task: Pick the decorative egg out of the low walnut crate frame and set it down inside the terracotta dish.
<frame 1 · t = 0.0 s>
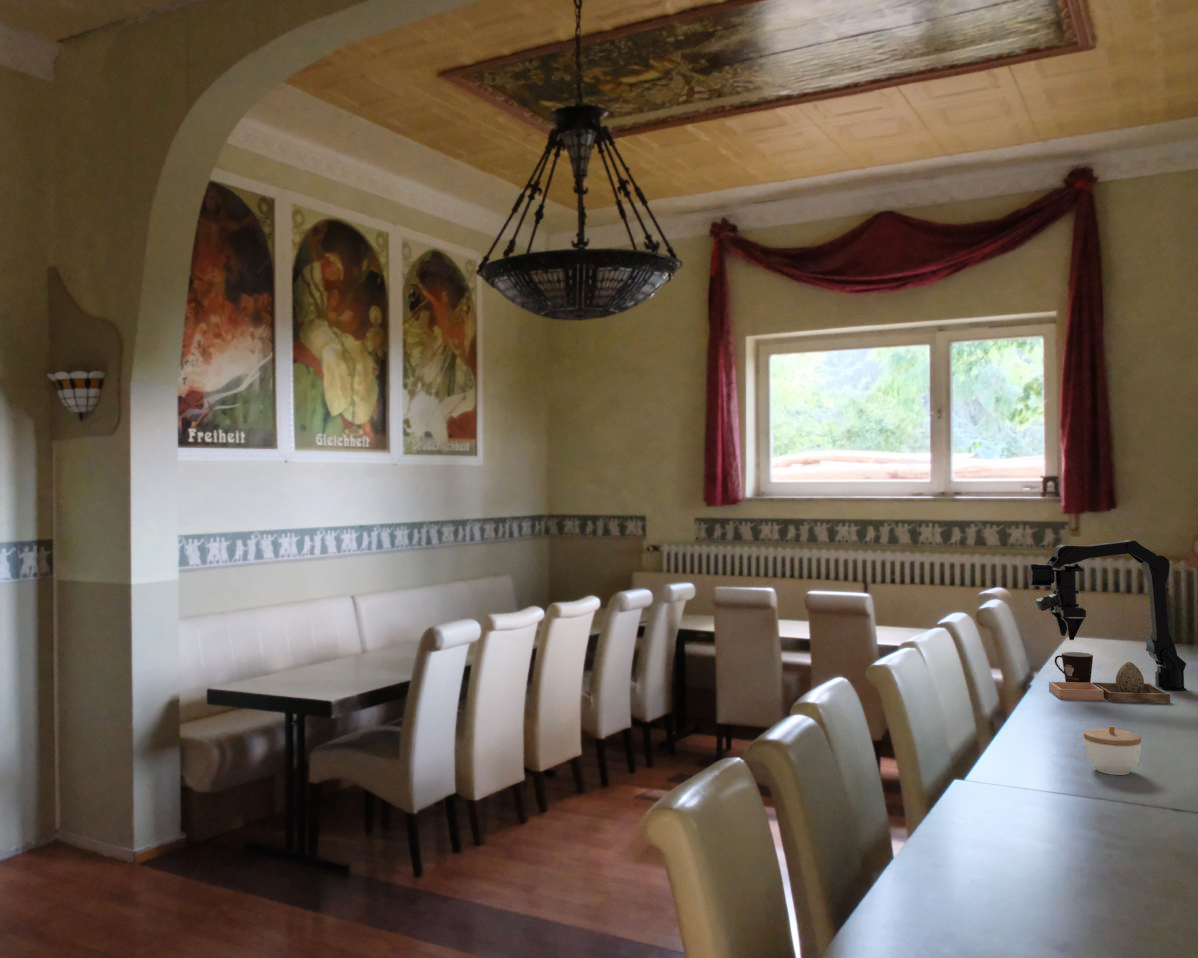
hand: (1067, 637, 295), 15 cm above the table, tool pointing down, fingers open, 9 cm apart
terracotta dish: (1075, 695, 281), on the table
lidded jar: (1112, 771, 205), on the table
walnut crate: (1130, 696, 278), on the table
coffee mug: (1075, 687, 294), on the table
decorative egg: (1130, 697, 278), resting in walnut crate
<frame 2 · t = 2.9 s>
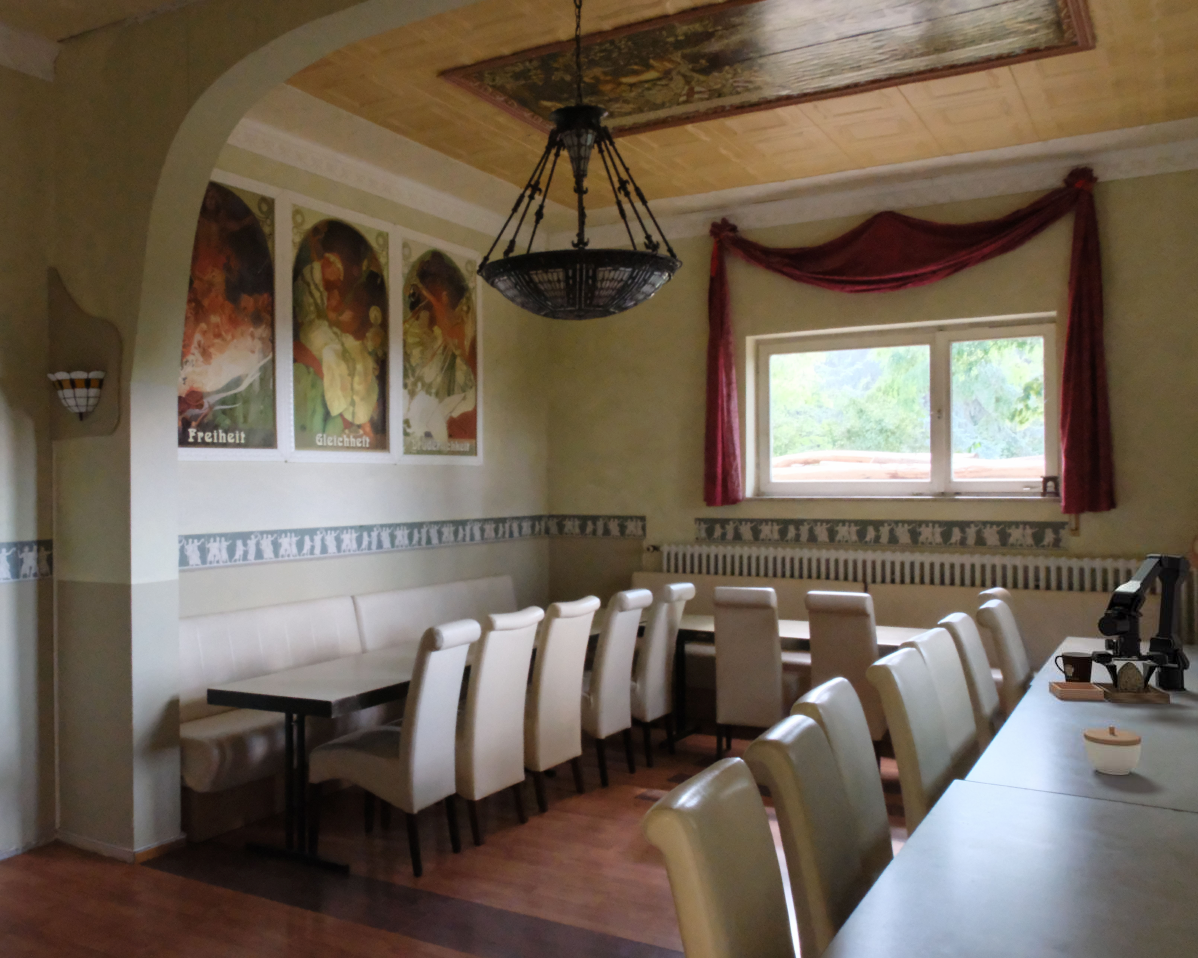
hand: (1130, 687, 278), 3 cm above the table, tool pointing down, fingers closed on decorative egg, 7 cm apart
decorative egg: (1130, 697, 278), resting in walnut crate, touching gripper
everything else where it was.
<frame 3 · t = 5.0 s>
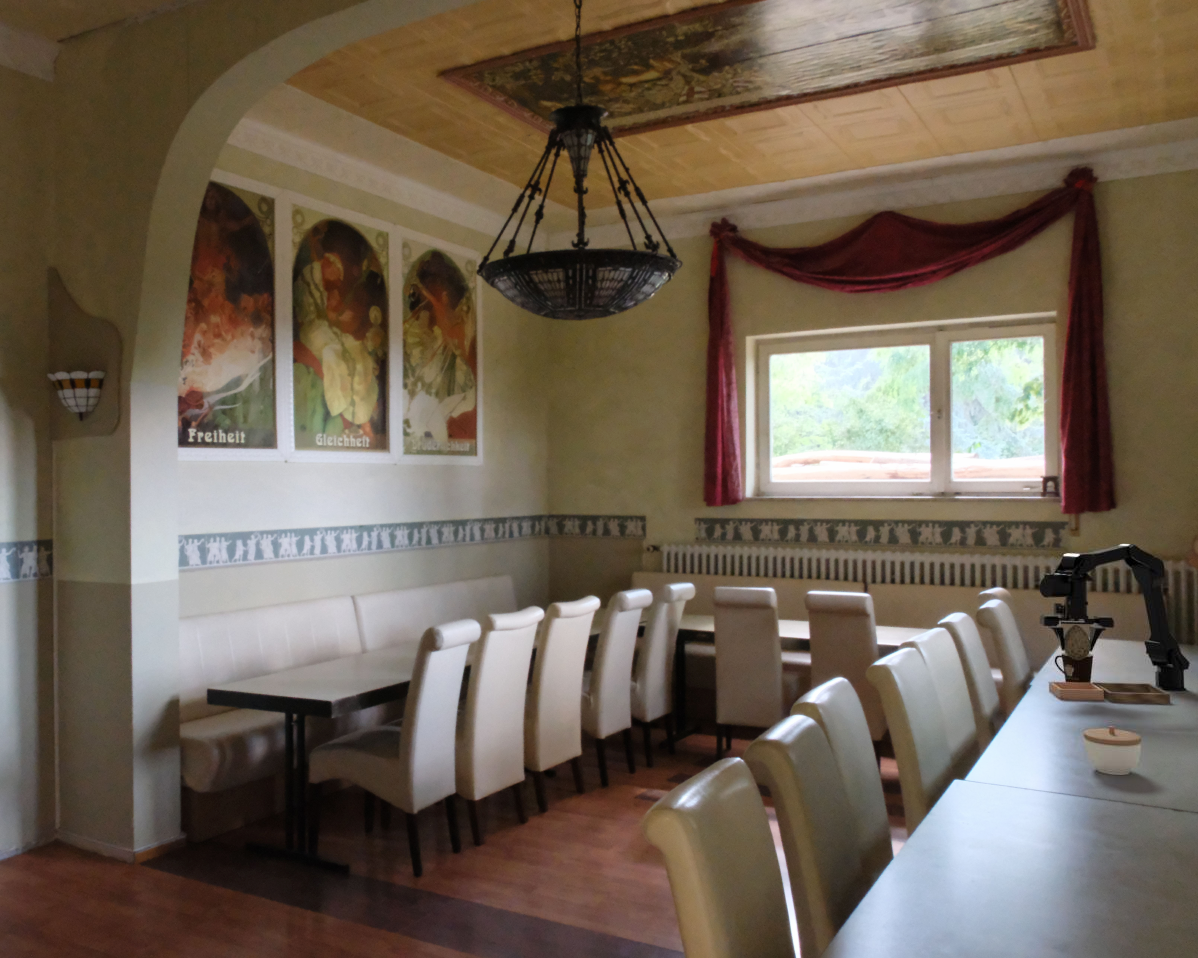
hand: (1076, 650, 281), 13 cm above the table, tool pointing down, fingers closed on decorative egg, 7 cm apart
decorative egg: (1077, 660, 281), point 10 cm above the table, touching gripper
everything else where it was.
when the fingers open (4 cm above the table, at t = 7.5 s): decorative egg drops 1 cm, resting on terracotta dish.
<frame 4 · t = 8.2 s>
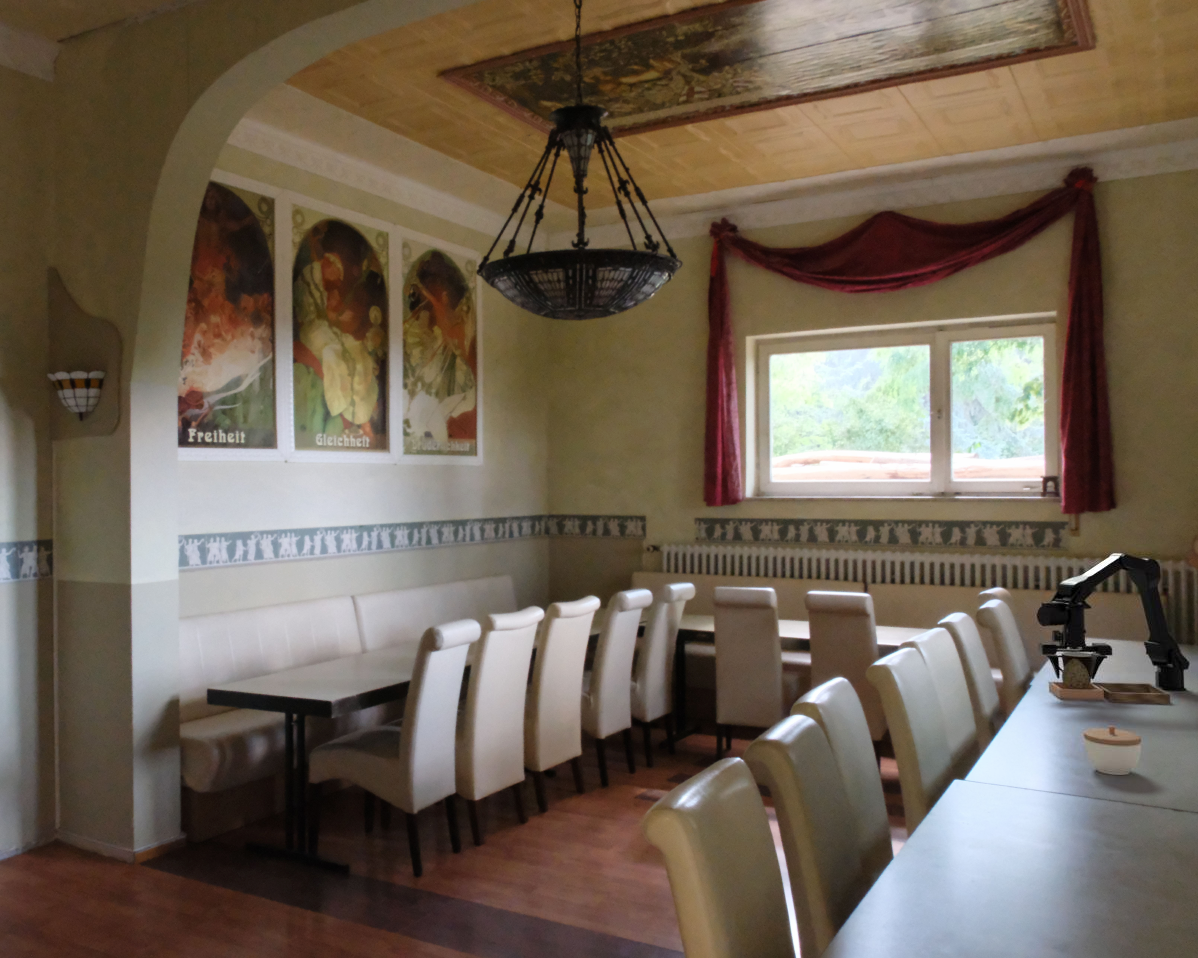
hand: (1075, 678, 281), 5 cm above the table, tool pointing down, fingers open, 9 cm apart
decorative egg: (1076, 693, 281), resting on terracotta dish
everything else where it was.
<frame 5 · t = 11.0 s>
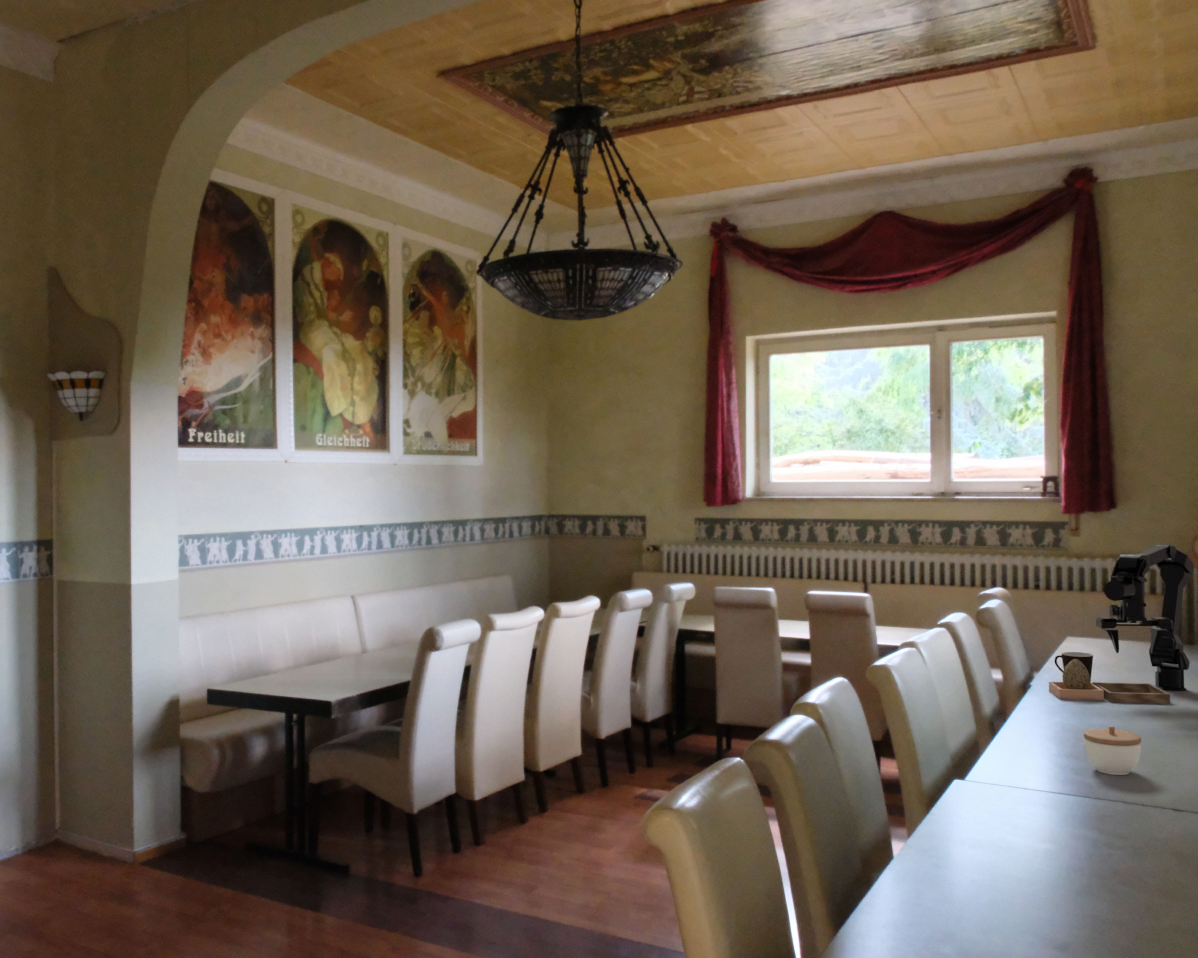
hand: (1134, 653, 278), 13 cm above the table, tool pointing down, fingers open, 9 cm apart
nothing on the table moved.
at the end: decorative egg inside the target area on the terracotta dish (0.2 cm from its centre), point 0.4 cm above the terracotta dish's base; the gripper is holding nothing; decorative egg 14.3 cm from the walnut crate (horizontally) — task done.
